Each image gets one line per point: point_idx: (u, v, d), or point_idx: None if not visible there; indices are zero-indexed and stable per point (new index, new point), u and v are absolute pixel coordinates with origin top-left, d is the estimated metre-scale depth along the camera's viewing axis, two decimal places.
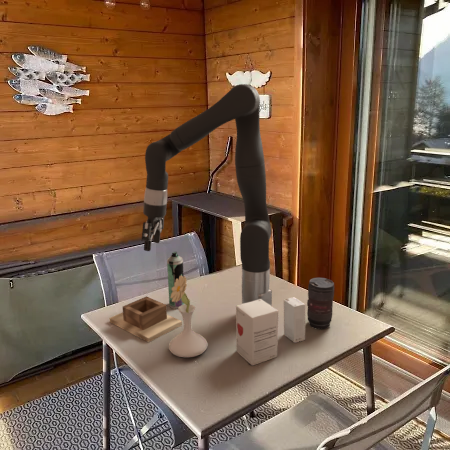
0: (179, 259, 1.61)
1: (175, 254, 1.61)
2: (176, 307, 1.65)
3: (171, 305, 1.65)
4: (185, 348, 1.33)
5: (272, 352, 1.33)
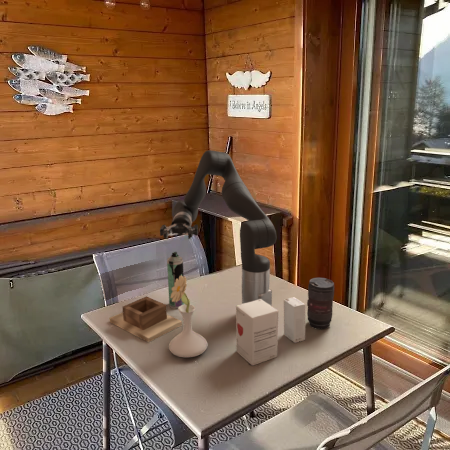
0: (179, 259, 1.61)
1: (175, 254, 1.61)
2: (176, 307, 1.65)
3: (171, 305, 1.65)
4: (185, 348, 1.33)
5: (272, 352, 1.33)
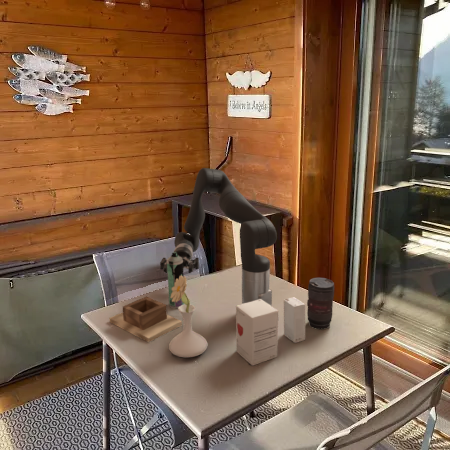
0: (179, 259, 1.61)
1: (175, 254, 1.61)
2: (176, 307, 1.65)
3: (171, 305, 1.65)
4: (185, 348, 1.33)
5: (272, 352, 1.33)
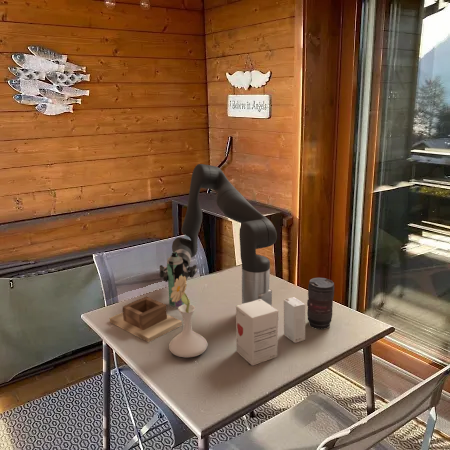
0: (179, 259, 1.61)
1: (175, 254, 1.61)
2: (176, 307, 1.65)
3: (171, 305, 1.65)
4: (185, 348, 1.33)
5: (272, 352, 1.33)
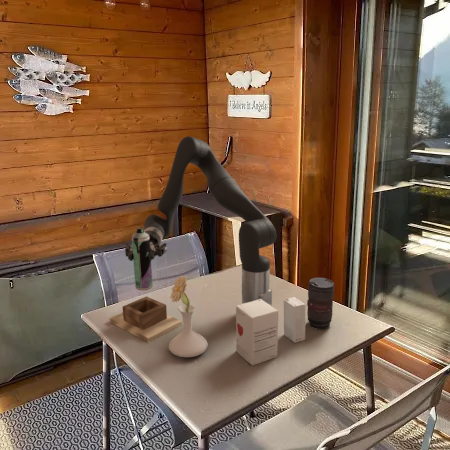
0: (145, 235, 1.45)
1: (140, 230, 1.45)
2: (142, 289, 1.49)
3: (137, 287, 1.50)
4: (185, 348, 1.33)
5: (272, 352, 1.33)
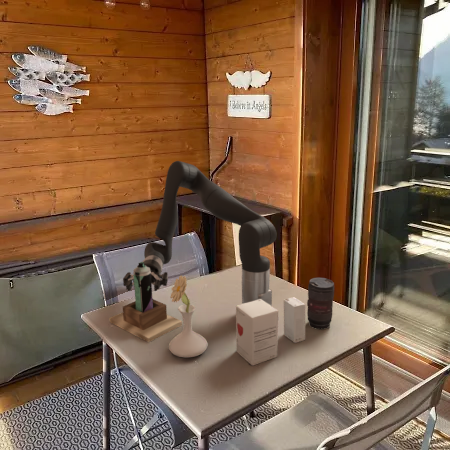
0: (146, 270, 1.48)
1: (142, 264, 1.48)
2: None
3: None
4: (185, 348, 1.33)
5: (272, 352, 1.33)
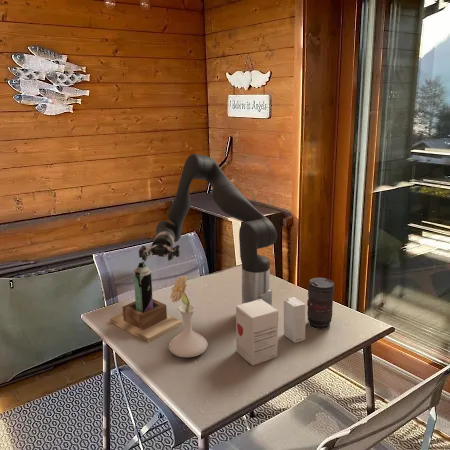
0: (146, 270, 1.48)
1: (142, 264, 1.48)
2: None
3: None
4: (185, 348, 1.33)
5: (272, 352, 1.33)
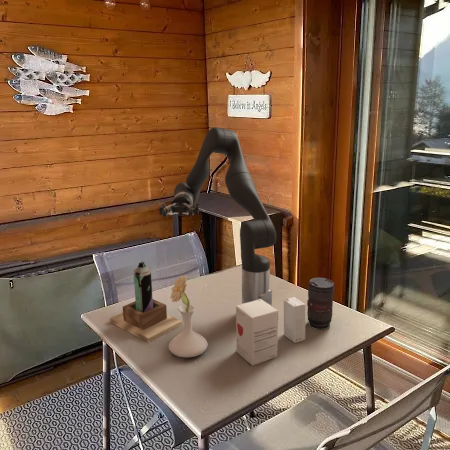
0: (146, 270, 1.48)
1: (142, 264, 1.48)
2: None
3: None
4: (185, 348, 1.33)
5: (272, 352, 1.33)
